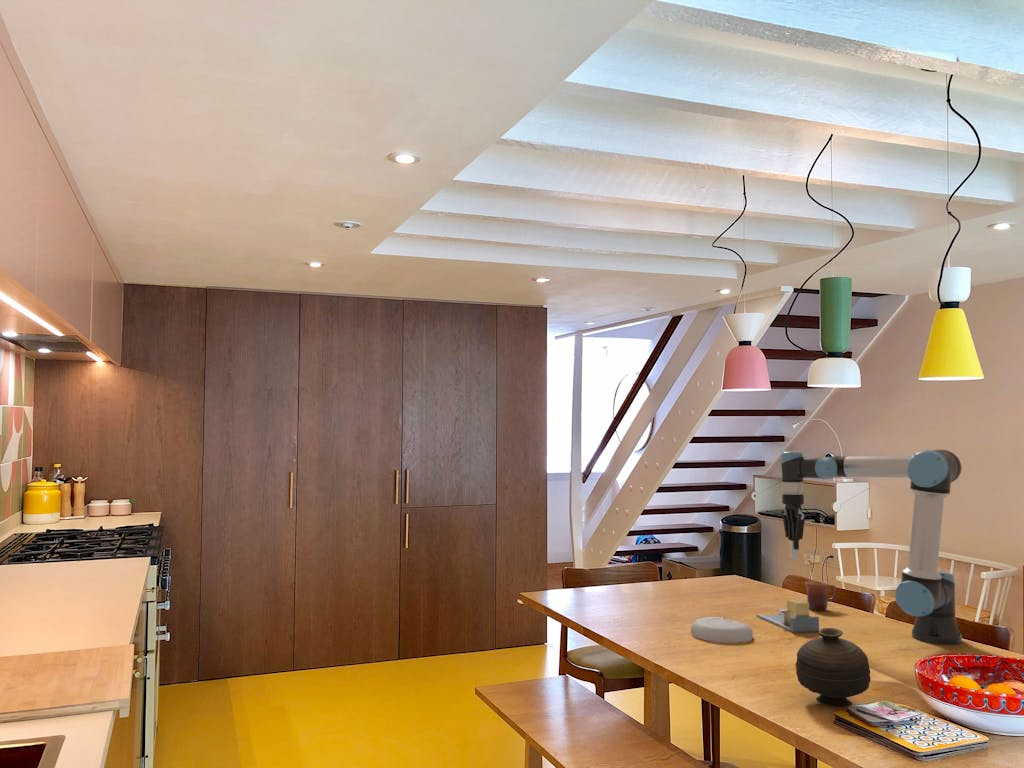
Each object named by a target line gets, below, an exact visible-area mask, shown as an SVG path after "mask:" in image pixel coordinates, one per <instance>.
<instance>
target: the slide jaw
mask: <svg viewBox="0 0 1024 768" xmlns="http://www.w3.org/2000/svg"><path fill="white" fill-rule="evenodd" d="M778 613H781V624H784V625H787V608H786V609H778Z"/></svg>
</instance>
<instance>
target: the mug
mask: <svg viewBox="0 0 1024 768" xmlns="http://www.w3.org/2000/svg"><path fill="white" fill-rule="evenodd" d="M804 583H805V586H806V593H807V595H806V596H807V597H806V602H808V603H809V610H810V609H812V610H811V611H814V610H818V611H817V612H823V610H824V611H826V610H827V609H828V603H829V602H831V601H832V602H833V601H834V600H835V598H837V596H838V595H837V594H838V588H837V587H836V585H833V584H829V583H828V582H826V581H821V580H820V581H817V580H808V581H805V582H804ZM831 588H833V589H834V590H833V591H834V593H833V596H832V597H828V590H829V589H831Z"/></svg>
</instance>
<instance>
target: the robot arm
mask: <svg viewBox="0 0 1024 768" xmlns="http://www.w3.org/2000/svg"><path fill="white" fill-rule="evenodd" d="M780 465H781V492H782V494H781V497H782V498H781V500H782V504H783V505H785V507H784V510H781V511H780V512H781V513H780V514H781V516H782V521H783V528H784V534H785V535H784V536H785V538H787V539H788V541H789V558H790V559H792V560H794V559H800V552H799V551H800V540H803V536H804V529H805V521H806V517H807V514H806V513H803V512H802V511H803V510H802V505H803V504H804V503H805V498H804V497H805V496H804V494H803V493H804V485H805V484H804V479H806V478H808V479H809V478H810V479H822V480H828V479H834V478H908V479H910V487H909V488H910V491H911V492H912V493H913V494H914V498H913V499H914V500H913V510H912V518H911V519H912V521H911V531H910V543H909V551H908V563H907V566H906V567H905V568H903V569H902V572H901V582H900V583H899V584H898V585H897V586H896V589H895V590H894V591H895V592H894V598H895V602H896V604H897V605H898V607H899V608H900V609H901V610H902V611H903V612H904V613H906V614H907V615H909V616H912V617H915V620H914V623H913V628H912V630H911V638H913V639H914V640H917V641H919V640H920V641H919V642H923V641H924V643H927V642H929V643H928V644H933V643H934V644H935V645H943V646H945V645H946V646H954V645H955V646H957V645H961V644H962V642H963V636H962V633H961V630H960V626H959V625H958V622H957V619H956V588H955V587H956V582H955V576H954V575H953V574H952V573H950V572H946V571H945V572H944V571H943V572H942V571H938V564H939V563H938V562H939V553H940V545H941V533H942V522H943V514H944V503H945V502H944V501H945V498H946V497H948V496H949V495H950V494H951V487H952V485H951V484H952V483H954V482H955V481H956V480H957V479H958V478H959V477H960V475H961V473H962V462H961V460H960V459H959V457H958V456H957V455H956V454H955V453H953V452H951V451H950V450H946V449H925V450H920V451H919V452H916V453H915V454H914V455H870V456H869V455H862V456H861V455H860V456H859V455H857V456H855V455H853V456H852V455H851V456H846V455H845V456H842V455H841V456H840V455H834V456H820V457H819V456H818V457H815V456H814V457H806V456H804V454H803V452H802V451H783V452H781V461H780Z"/></svg>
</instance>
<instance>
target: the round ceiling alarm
mask: <svg viewBox="0 0 1024 768" xmlns="http://www.w3.org/2000/svg"><path fill="white" fill-rule="evenodd" d="M753 633H754V631H753V629H752V627H751V626H750V625H749V624H747V623H744V622H741V621H737V620H733V619H725V617H723V616H708V617H701V618H698V619H697V618H696V620H694V621H693V622H692V624H691V625H690V635H691V634H692V635H693V637H694V638H696V639H699V640H702V639H703V641H707V642H712V641H713V642H714V643H721V642H722V644H723V643H724V644H740V643H739V642H742V643H747V641H748V642H750V641H752V640H753V639H754V638H753V637H754V636H753ZM692 635H691V636H692ZM752 638H753V639H752ZM713 642H712V643H713Z"/></svg>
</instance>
